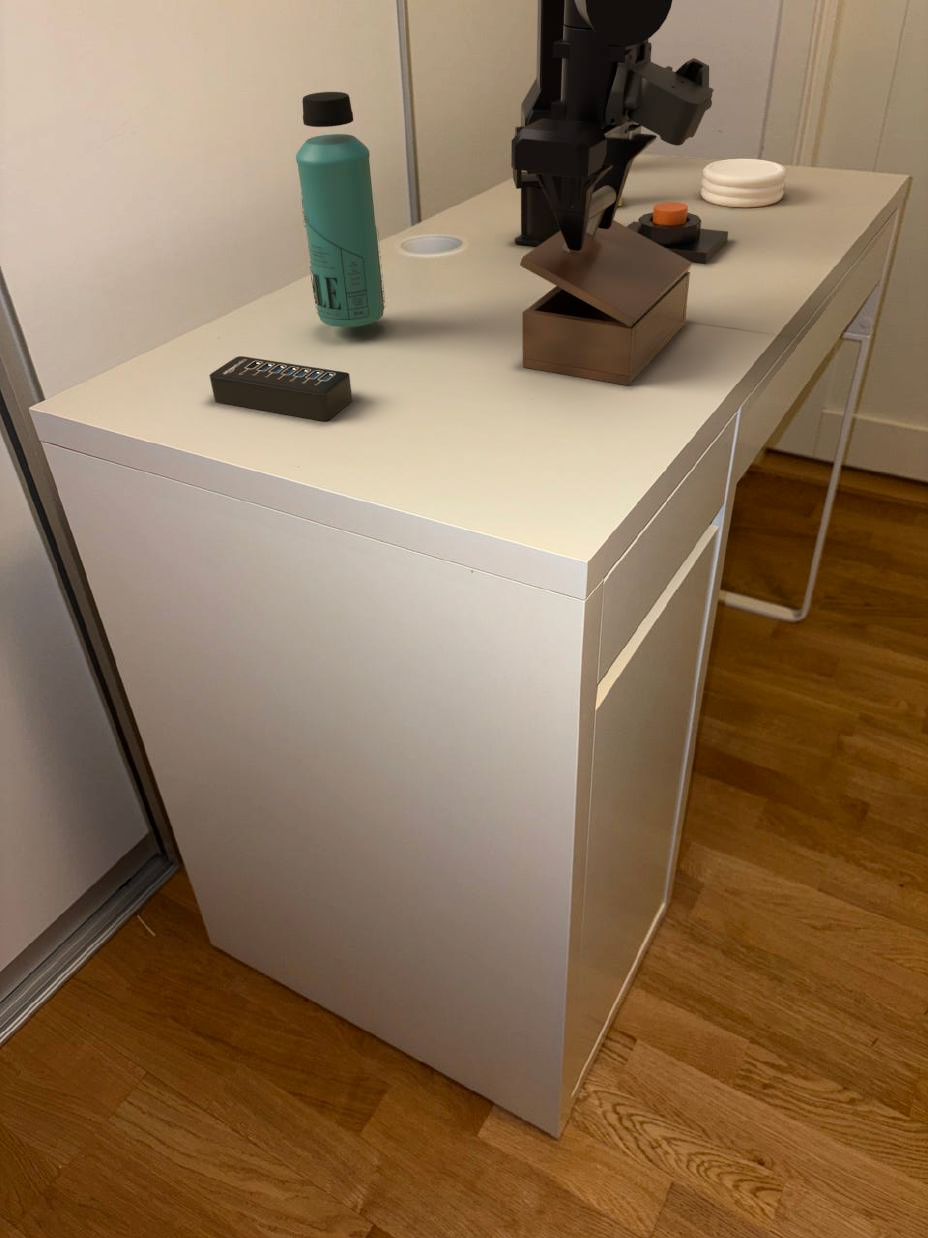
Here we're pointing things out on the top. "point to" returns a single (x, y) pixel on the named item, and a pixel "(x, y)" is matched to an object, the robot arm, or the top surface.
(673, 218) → the power button
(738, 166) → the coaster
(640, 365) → the chest
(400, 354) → the top surface
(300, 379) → the multiport hub
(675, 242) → the control block
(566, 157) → the robot arm
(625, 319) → the chest lid
